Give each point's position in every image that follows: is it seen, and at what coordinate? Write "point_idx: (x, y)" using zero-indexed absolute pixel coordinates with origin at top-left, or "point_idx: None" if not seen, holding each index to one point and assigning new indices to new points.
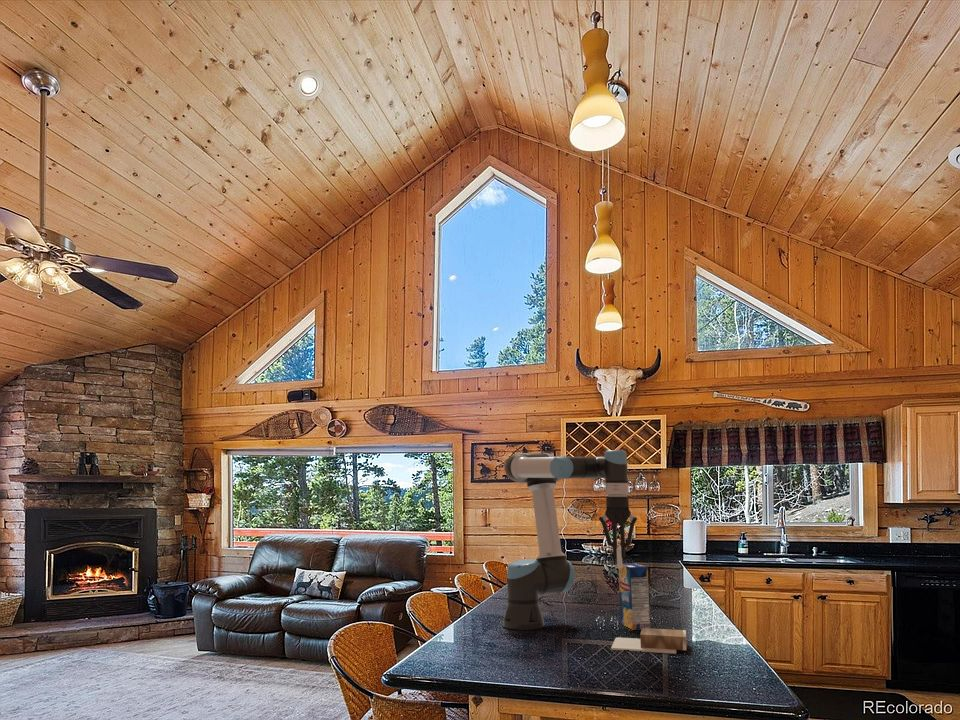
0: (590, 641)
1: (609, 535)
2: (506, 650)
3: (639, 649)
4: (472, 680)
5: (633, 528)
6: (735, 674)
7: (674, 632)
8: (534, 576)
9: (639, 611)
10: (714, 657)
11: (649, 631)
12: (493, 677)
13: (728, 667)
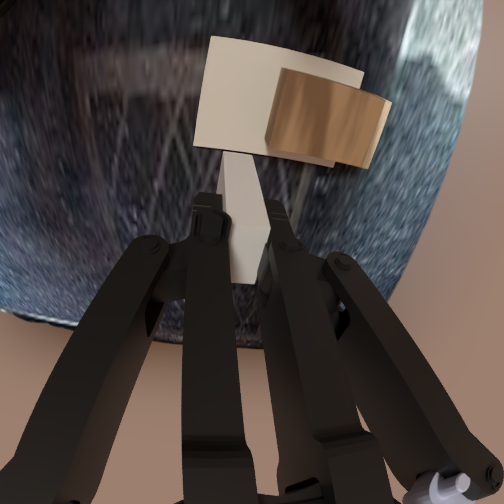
0: (142, 70)
1: (136, 337)
2: (9, 191)
3: (258, 153)
4: (48, 318)
5: (435, 397)
6: (370, 268)
7: (359, 124)
8: None
9: None
10: (388, 188)
11: (299, 113)
12: (60, 309)
13: (379, 240)
